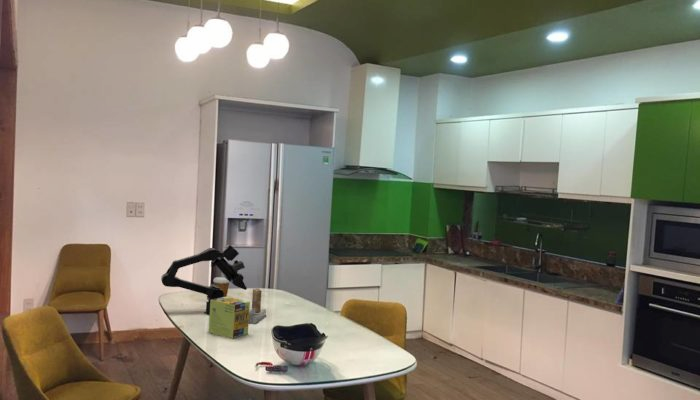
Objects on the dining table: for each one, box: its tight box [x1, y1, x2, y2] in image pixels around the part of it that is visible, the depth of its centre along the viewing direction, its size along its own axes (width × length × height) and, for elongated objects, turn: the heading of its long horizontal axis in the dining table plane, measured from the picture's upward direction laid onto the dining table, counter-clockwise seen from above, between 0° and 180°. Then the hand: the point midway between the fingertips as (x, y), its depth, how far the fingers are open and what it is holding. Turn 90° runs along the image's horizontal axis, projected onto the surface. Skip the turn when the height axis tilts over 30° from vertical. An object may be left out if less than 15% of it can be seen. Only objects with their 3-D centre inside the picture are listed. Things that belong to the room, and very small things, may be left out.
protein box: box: [208, 296, 251, 340], centre depth 268 cm, size 10×15×16 cm
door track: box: [249, 307, 267, 325], centre depth 296 cm, size 8×18×4 cm, turn 172°
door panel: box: [251, 288, 262, 314], centre depth 312 cm, size 3×6×12 cm, turn 26°
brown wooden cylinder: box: [213, 276, 231, 297], centre depth 338 cm, size 10×10×12 cm
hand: (244, 287), depth 309 cm, fingers open, 9 cm apart
